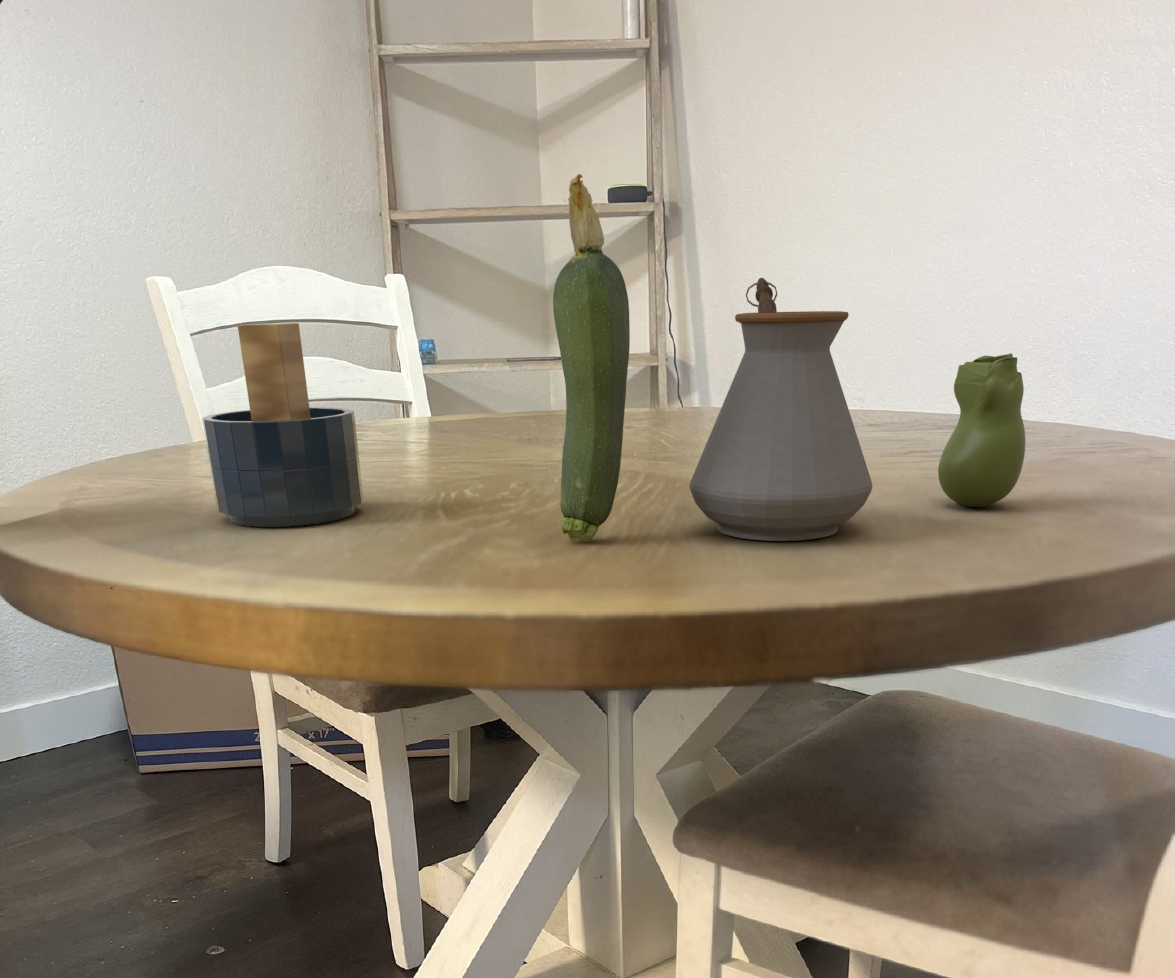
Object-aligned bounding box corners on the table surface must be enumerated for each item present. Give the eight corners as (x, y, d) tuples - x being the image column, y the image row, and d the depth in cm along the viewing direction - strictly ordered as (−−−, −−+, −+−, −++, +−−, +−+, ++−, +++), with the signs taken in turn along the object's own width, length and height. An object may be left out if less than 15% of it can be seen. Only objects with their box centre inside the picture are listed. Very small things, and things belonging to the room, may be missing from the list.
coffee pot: (886, 547, 62) (913, 267, 56) (693, 549, 63) (699, 272, 56) (826, 488, 82) (841, 276, 75) (678, 491, 82) (682, 279, 76)
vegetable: (596, 531, 68) (590, 181, 60) (645, 540, 66) (646, 174, 57) (546, 542, 66) (533, 176, 57) (595, 552, 63) (588, 169, 54)
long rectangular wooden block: (264, 508, 74) (237, 324, 69) (284, 500, 77) (259, 323, 72) (302, 508, 74) (277, 324, 69) (321, 501, 76) (299, 323, 71)
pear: (1031, 510, 72) (1055, 353, 67) (961, 515, 71) (982, 356, 66) (985, 497, 77) (1005, 350, 72) (919, 501, 76) (936, 352, 71)
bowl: (191, 527, 73) (172, 422, 70) (264, 501, 82) (250, 407, 79) (325, 531, 70) (312, 422, 67) (386, 504, 79) (376, 407, 76)
